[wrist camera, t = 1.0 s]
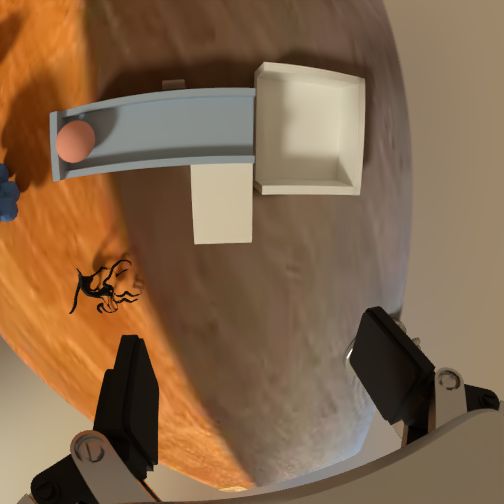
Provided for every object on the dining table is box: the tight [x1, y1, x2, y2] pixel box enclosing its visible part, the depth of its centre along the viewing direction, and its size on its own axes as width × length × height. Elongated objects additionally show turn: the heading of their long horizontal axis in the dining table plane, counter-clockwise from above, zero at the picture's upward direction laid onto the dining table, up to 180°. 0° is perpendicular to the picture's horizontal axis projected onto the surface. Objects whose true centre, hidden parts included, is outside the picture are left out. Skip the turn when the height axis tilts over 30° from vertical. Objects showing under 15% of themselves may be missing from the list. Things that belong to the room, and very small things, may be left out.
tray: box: [253, 62, 365, 195], centre depth 24 cm, size 10×12×4 cm
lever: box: [50, 88, 255, 244], centre depth 21 cm, size 17×13×4 cm
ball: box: [56, 120, 95, 163], centre depth 17 cm, size 4×4×4 cm
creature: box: [69, 260, 140, 314], centre depth 27 cm, size 8×5×8 cm
